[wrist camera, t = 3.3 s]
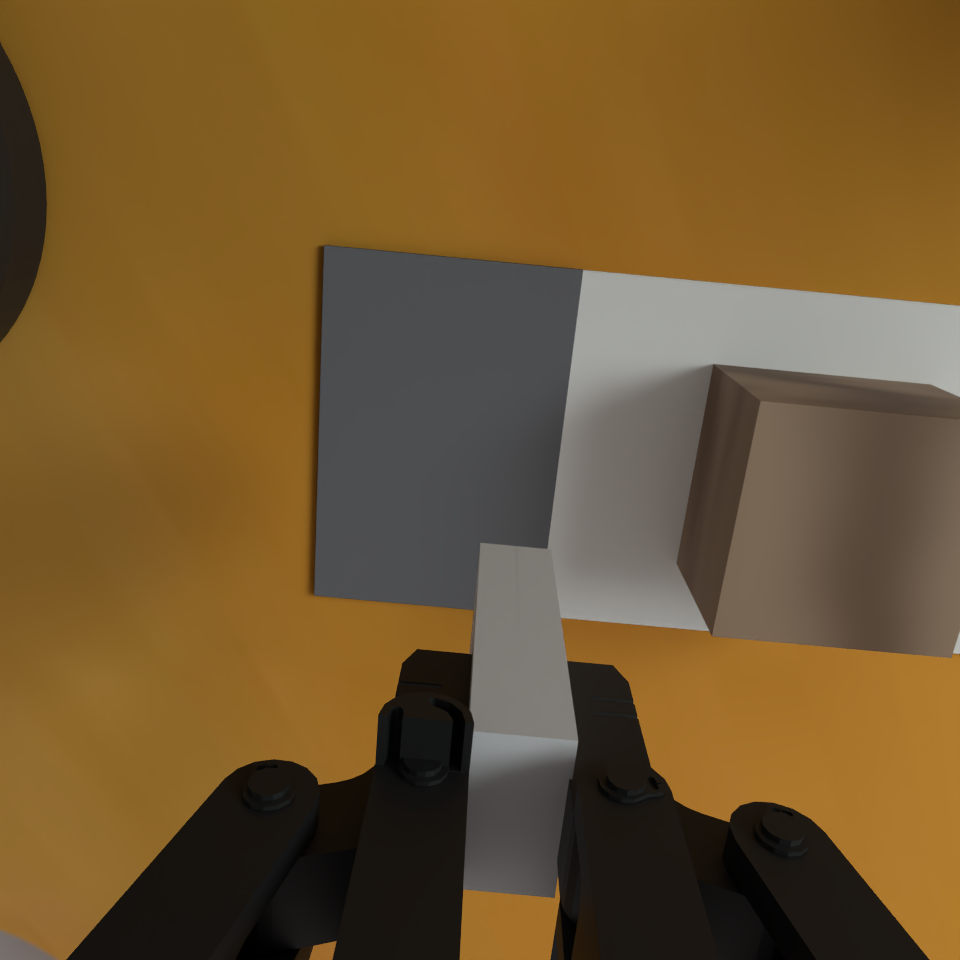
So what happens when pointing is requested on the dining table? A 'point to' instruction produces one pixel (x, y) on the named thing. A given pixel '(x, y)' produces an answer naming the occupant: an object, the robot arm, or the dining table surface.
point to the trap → (436, 418)
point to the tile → (693, 415)
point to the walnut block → (826, 512)
